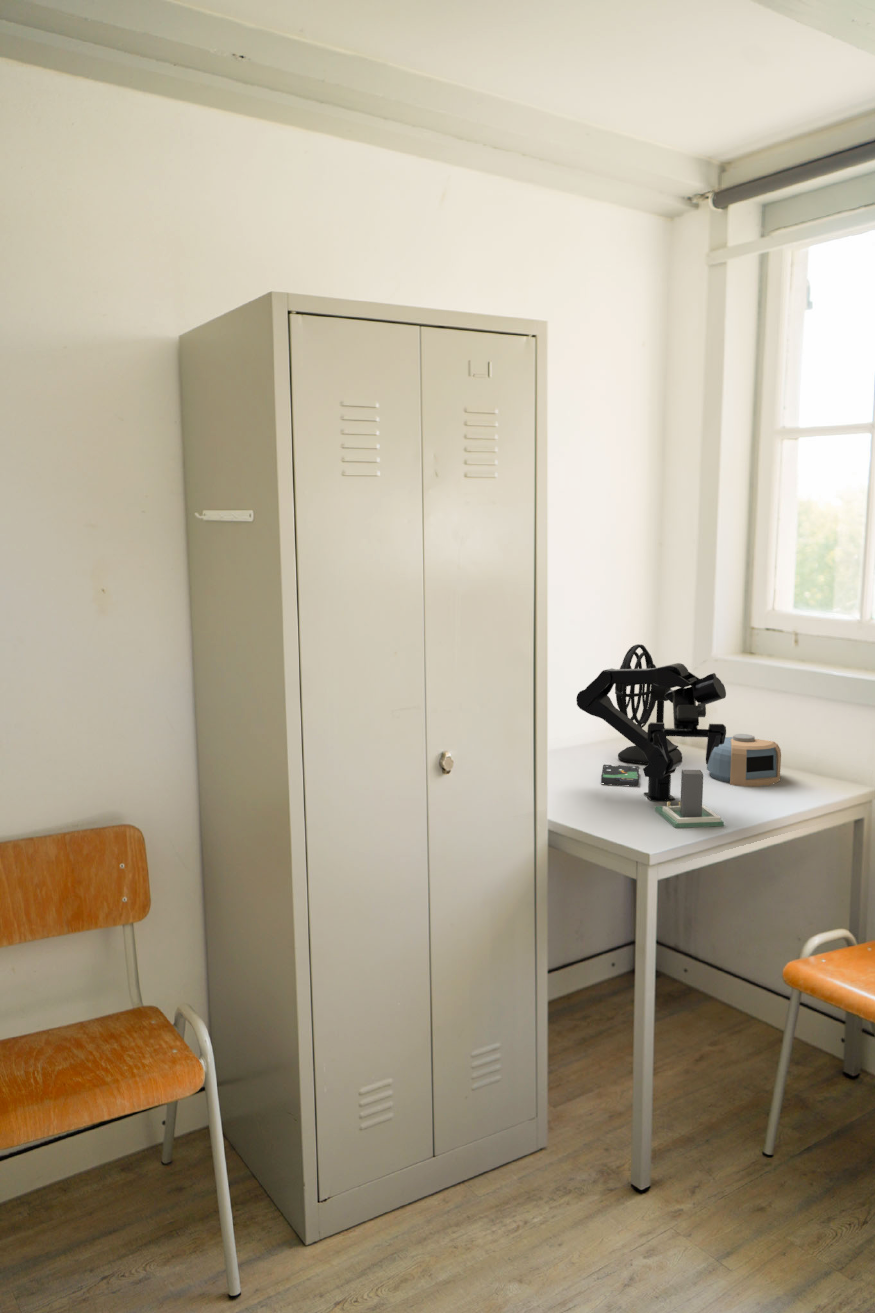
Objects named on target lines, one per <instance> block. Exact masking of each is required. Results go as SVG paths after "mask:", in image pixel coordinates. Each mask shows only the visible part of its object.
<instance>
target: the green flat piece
mask: <svg viewBox="0 0 875 1313" xmlns="http://www.w3.org/2000/svg"><path fill="white" fill-rule="evenodd" d="M680 802H681V800H680V801H678V805H671V801H667V802H666V806H665V805H664V806H663V805H661V806H659V805H658V806H654V811H655V812H656V813H657V814H659V816H660V817H662V818H663V819H664V820H666V821H667V822H668V823H669V824H670V825H671V826H673V827H674V828H675V829H676V828H699V827H701V828H703V827H704V828H705V827H724V825H725V822H724V821H723V820H722V819H721V816H719V815H718V814H716V813H715V812H714V811H713V810H711V809H710V808H708V807H707V806H705V805H704V804H702V817H686V818H682V816H681V814H680Z"/></svg>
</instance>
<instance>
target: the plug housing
mask: <svg viewBox="0 0 875 1313" xmlns="http://www.w3.org/2000/svg"><path fill="white" fill-rule="evenodd" d="M680 775H681V778H680V779H681V780H680V801H681V802H680V814H681V816H682V818H686V817H702V805H703V798H704V796H703V795H704V794H703V793H704V790H703V789H704V773H703V772H702V770H701V769H684V768H683V769H681V774H680Z"/></svg>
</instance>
